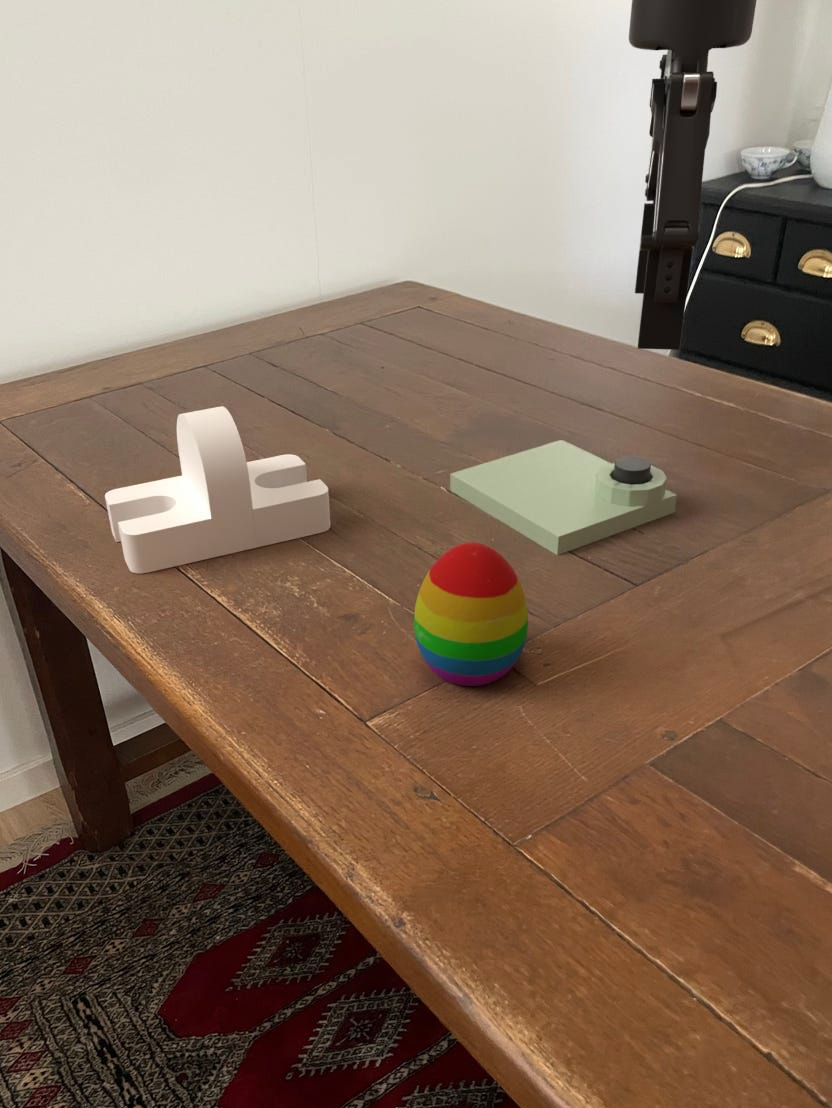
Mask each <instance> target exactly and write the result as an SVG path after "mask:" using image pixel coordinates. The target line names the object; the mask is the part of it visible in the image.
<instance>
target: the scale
mask: <svg viewBox="0 0 832 1108" xmlns="http://www.w3.org/2000/svg"><path fill="white" fill-rule="evenodd" d="M614 464H615V462H613V463H612V462H609V461H608V460H605V459H604V458H601V457H599V456H597V455H595V454H594V453H591V452H588V451H586V450H584V449H582V448H580V447H578V446H576V445H574V444H571V443H570V442H567V441H566V440H563V439H559V440H556V441H552V442H549V443H546V444H543V445H539V446H536V447H533V448H530V449H526V450H523V451H520V452H517V453H514V454H509V455H507V456H504V457H501V458H497V459H494V460H490V461H488V462H487V461H486V462H484V463H481V464H477V465H473V466H471V467H468V468H464V469H460V470H458V471H455V472H451V473H450V475H449V477H450V479H449V485H450V486H449V491H450V492H452V493H453V494H455V495H457V496H459V497H460V498H461V499H463V500H464V501H466V502H468V503H470V504H471V505H473V506H475V507H476V508H478V509H479V510H481V511H484V512H485V513H486V514H488V515H490V516H492V517H493V518H495V519H496V520H498V521H500V522H501V523H503V524H504V525H506V526H508V527H510V528H511V529H513V530H514V531H517V532H518V533H520V534H522V535H523V536H525V537H526V538H528V539H530V540H531V541H532V542H534V543H536V544H538V545H539V546H541V547H542V548H545V549H546V550H548V551H549V552H551V553H553V554H554V555H556V556H558V555H562V554H565V553H567V552H570V551H573V550H575V549H579V548H581V547H584V546H586V545H589V544H592V543H595V542H597V541H598V542H599V541H600V540H603V539H606V538H608V537H611V536H614V535H616V534H620V533H623V532H624V531H625V532H626V531H628V530H630V529H633V528H636V527H639V526H642V525H644V524H647V523H649V522H652V521H655V520H658V519H661V518H663V517H666V516H669V515H671V514H674V513H675V511H676V504H677V497H678V494H676V493H674V492H673V491H670V490H668V489H666V488H667V481H668V477H667V476H666V474H665V473H664V470H661V469H660V468H658V467H656V466H653V465H651V469H650V476H649V481H648V482H647V483H644V484H635V485H630V484H624V483H619V482H617V481H615V480H614V479H613V474H614Z"/></svg>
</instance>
